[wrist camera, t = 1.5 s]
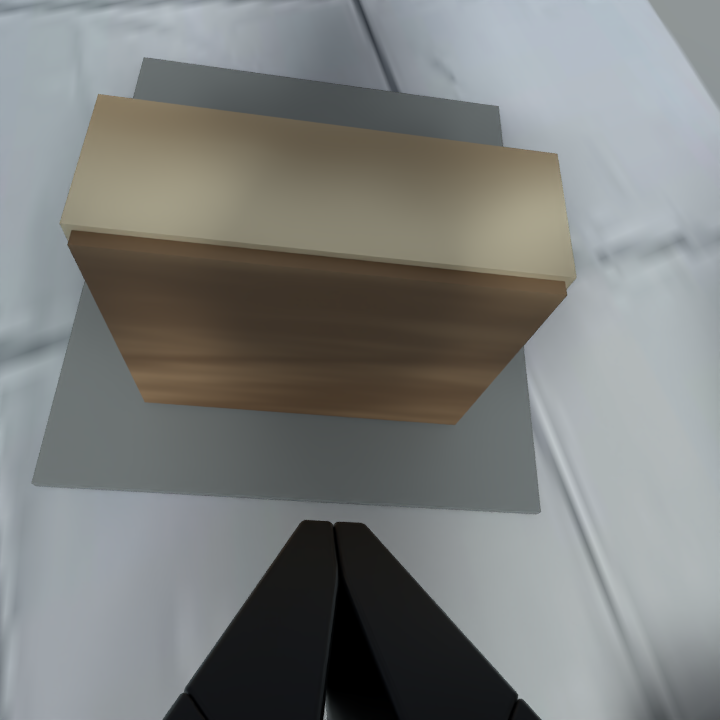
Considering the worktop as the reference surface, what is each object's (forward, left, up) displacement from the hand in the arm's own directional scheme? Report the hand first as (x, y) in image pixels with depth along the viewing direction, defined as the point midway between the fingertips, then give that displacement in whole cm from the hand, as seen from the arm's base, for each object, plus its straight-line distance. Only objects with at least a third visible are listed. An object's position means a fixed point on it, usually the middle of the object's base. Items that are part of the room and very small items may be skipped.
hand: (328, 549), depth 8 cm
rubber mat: (+10, -10, -13) cm, 20 cm away
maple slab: (+6, -6, -13) cm, 16 cm away
